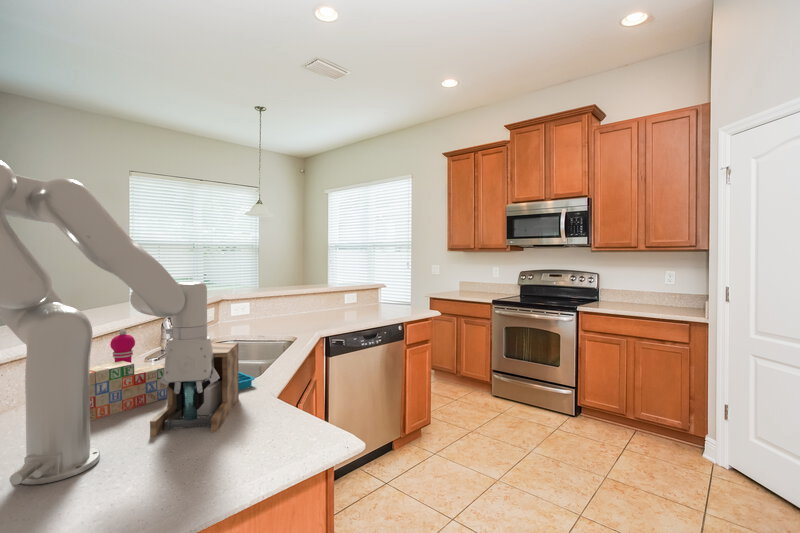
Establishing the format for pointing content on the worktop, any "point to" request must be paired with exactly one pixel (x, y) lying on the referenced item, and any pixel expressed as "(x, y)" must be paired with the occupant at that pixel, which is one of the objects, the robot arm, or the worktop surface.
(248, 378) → the ice cube tray
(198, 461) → the worktop surface
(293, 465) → the worktop surface
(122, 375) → the stack of blocks
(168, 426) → the frame
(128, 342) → the pepper mill
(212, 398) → the medicine bottle
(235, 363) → the shelf lane
